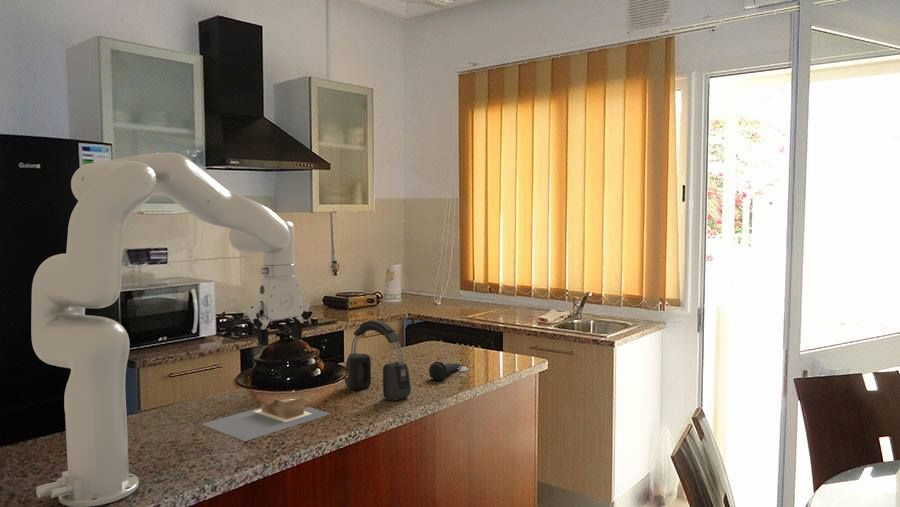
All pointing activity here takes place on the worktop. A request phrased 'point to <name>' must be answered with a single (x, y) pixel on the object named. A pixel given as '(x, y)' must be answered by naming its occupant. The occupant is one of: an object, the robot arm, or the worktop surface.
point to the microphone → (442, 370)
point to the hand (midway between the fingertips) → (280, 341)
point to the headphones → (393, 373)
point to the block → (285, 408)
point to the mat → (260, 423)
